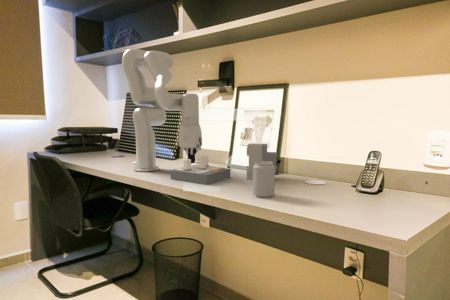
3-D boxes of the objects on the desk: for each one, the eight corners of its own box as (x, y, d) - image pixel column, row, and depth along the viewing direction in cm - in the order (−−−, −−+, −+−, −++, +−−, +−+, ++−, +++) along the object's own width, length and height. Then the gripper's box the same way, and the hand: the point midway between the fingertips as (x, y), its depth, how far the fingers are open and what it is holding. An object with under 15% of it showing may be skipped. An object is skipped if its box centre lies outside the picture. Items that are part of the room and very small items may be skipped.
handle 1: (182, 169, 140) (182, 159, 139) (187, 168, 142) (187, 158, 142) (187, 170, 138) (187, 160, 138) (192, 169, 141) (192, 159, 140)
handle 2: (200, 165, 150) (200, 156, 149) (204, 165, 152) (204, 155, 152) (205, 166, 148) (205, 156, 148) (209, 165, 151) (209, 156, 150)
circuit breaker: (279, 180, 139) (280, 145, 137) (246, 179, 142) (246, 145, 140) (280, 177, 146) (281, 143, 144) (248, 176, 149) (248, 143, 147)
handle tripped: (197, 168, 143) (197, 158, 142) (202, 167, 145) (202, 157, 145) (202, 169, 141) (202, 159, 141) (207, 168, 144) (207, 158, 143)
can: (257, 199, 110) (258, 164, 109) (249, 193, 117) (250, 160, 116) (278, 197, 112) (278, 162, 111) (269, 192, 119) (269, 159, 118)
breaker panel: (170, 179, 143) (170, 169, 143) (196, 173, 157) (195, 163, 156) (206, 184, 132) (206, 173, 131) (230, 177, 146) (230, 167, 145)
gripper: (172, 122, 146) (173, 162, 148) (198, 122, 137) (199, 165, 139) (183, 121, 152) (184, 160, 154) (209, 121, 143) (209, 163, 145)
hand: (191, 162), depth 147 cm, fingers closed
